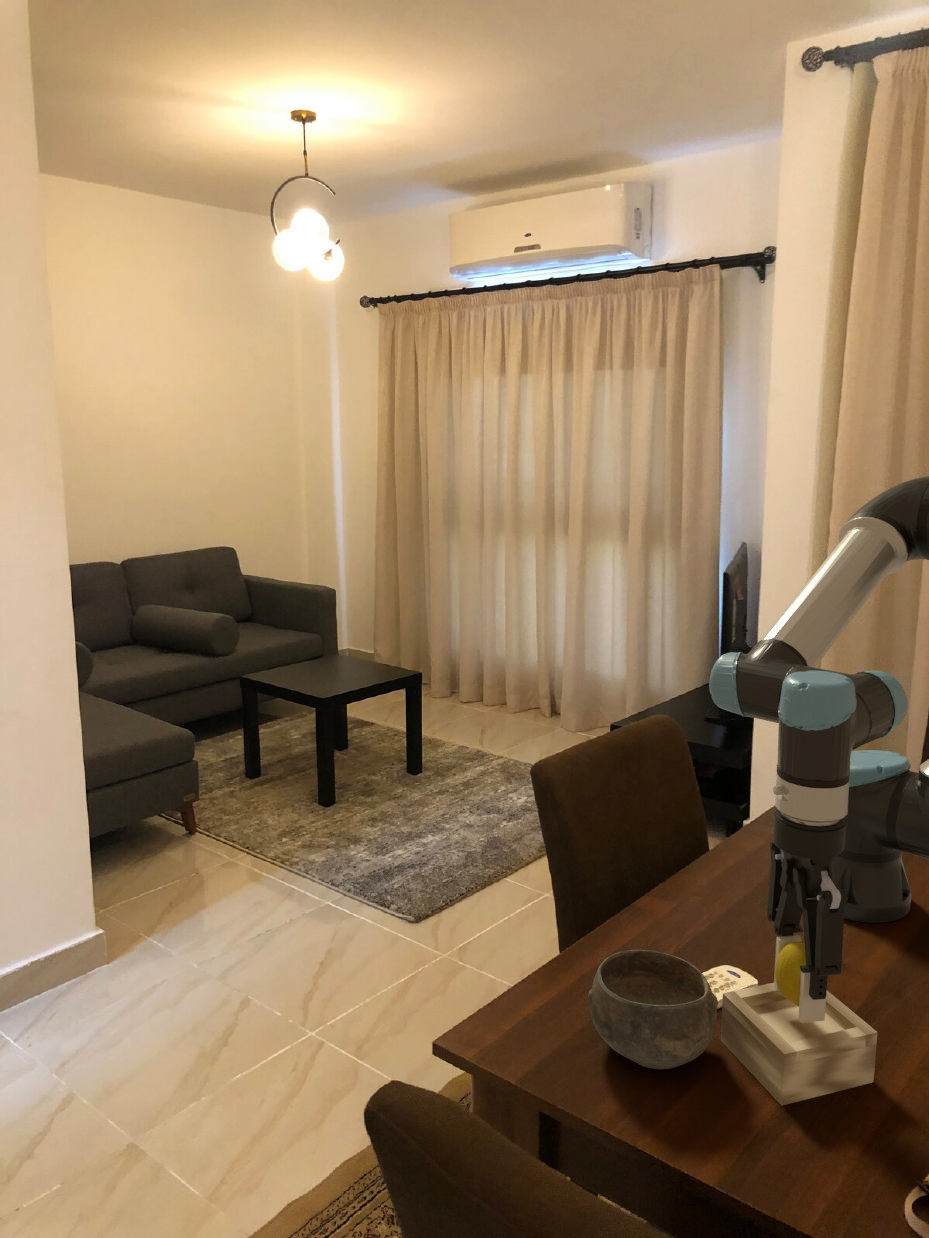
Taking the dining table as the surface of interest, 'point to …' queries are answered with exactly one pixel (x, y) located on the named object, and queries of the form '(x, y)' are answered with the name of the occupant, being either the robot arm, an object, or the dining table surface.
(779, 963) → the lemon
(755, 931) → the dining table surface
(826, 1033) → the birch box
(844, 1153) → the dining table surface
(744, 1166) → the dining table surface
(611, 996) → the bowl
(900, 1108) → the dining table surface
